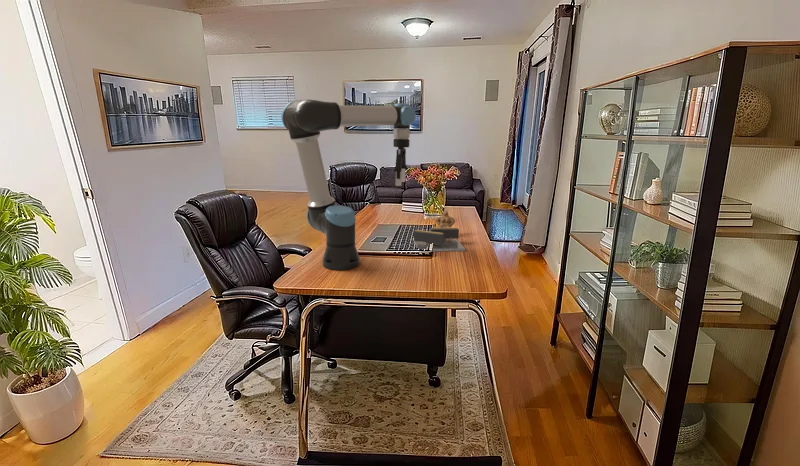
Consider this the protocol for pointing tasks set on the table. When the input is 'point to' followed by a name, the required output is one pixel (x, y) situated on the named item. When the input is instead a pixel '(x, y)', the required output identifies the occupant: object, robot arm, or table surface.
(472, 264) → the table surface
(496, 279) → the table surface
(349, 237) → the robot arm
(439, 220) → the figurine
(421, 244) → the level plate
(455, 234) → the curved tan-striped slab
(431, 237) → the striped dark bar
